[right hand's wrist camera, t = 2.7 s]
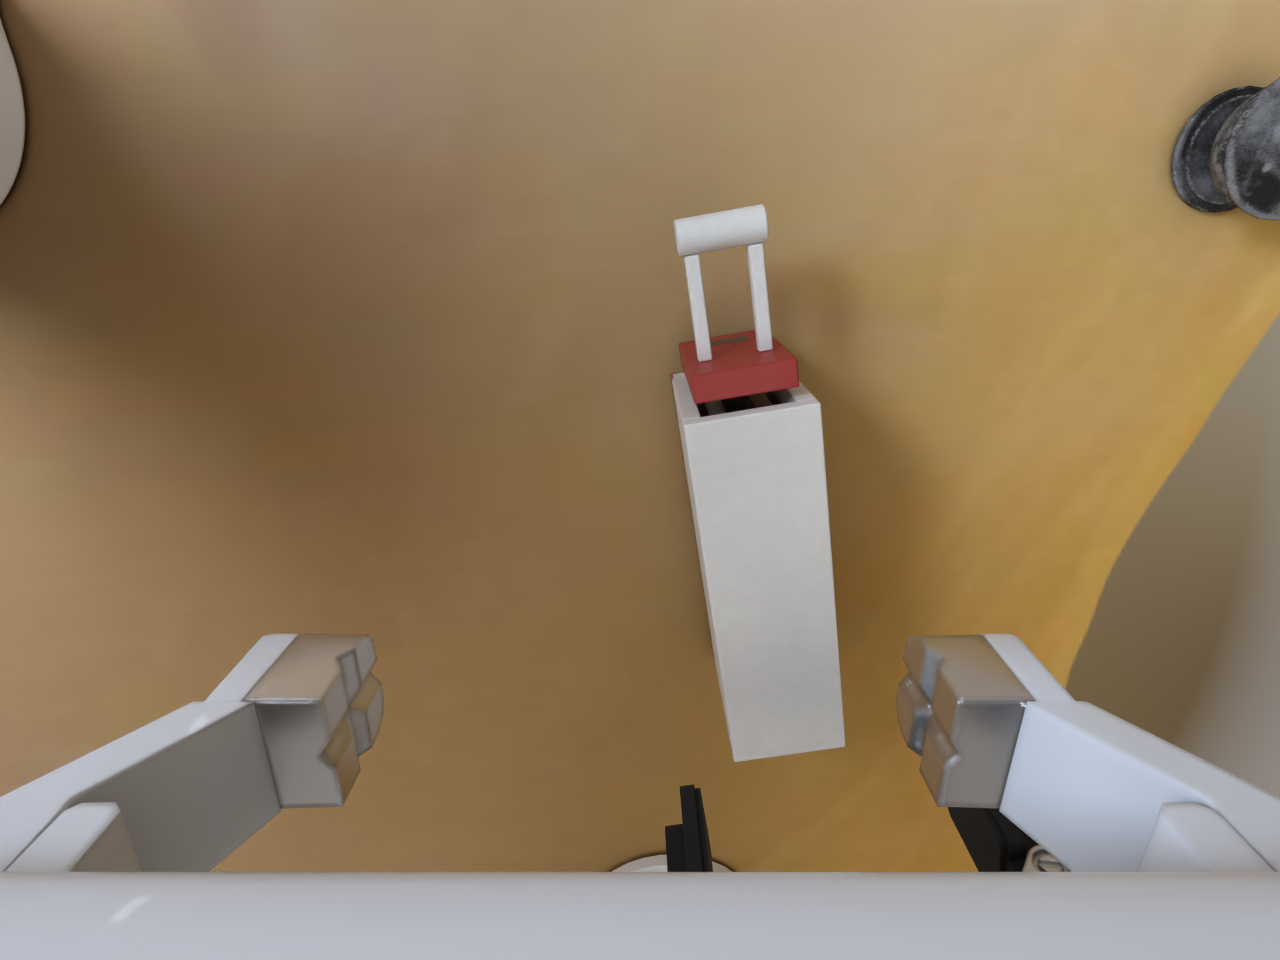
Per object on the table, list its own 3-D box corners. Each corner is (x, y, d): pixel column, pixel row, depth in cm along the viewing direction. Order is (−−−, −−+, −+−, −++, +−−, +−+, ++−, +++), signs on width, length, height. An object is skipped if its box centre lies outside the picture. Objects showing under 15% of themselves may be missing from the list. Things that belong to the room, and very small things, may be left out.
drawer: (660, 219, 32) (668, 222, 25) (751, 202, 32) (784, 202, 25) (719, 621, 40) (737, 703, 34) (792, 610, 40) (825, 690, 33)
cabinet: (670, 374, 36) (682, 425, 27) (776, 356, 35) (821, 402, 27) (713, 652, 42) (733, 763, 34) (803, 639, 42) (846, 747, 34)
